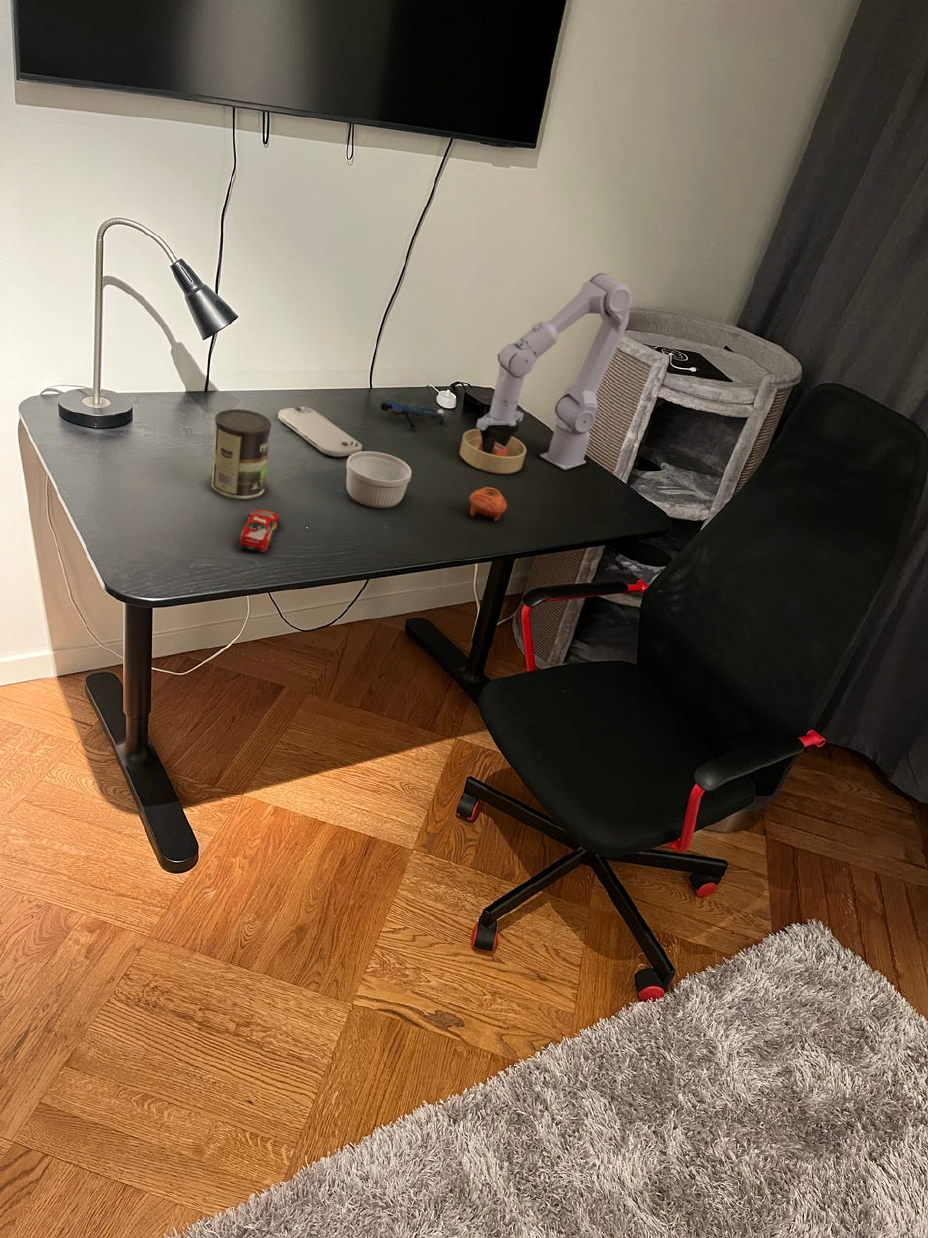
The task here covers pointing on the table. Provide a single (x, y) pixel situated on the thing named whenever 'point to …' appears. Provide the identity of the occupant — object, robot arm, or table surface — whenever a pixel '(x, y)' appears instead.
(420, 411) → the person figurine
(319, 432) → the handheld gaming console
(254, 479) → the coffee can
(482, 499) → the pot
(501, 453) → the orange-red block
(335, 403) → the table surface
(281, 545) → the table surface
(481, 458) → the bowl
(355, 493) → the ramekin
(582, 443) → the robot arm
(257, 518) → the race car
